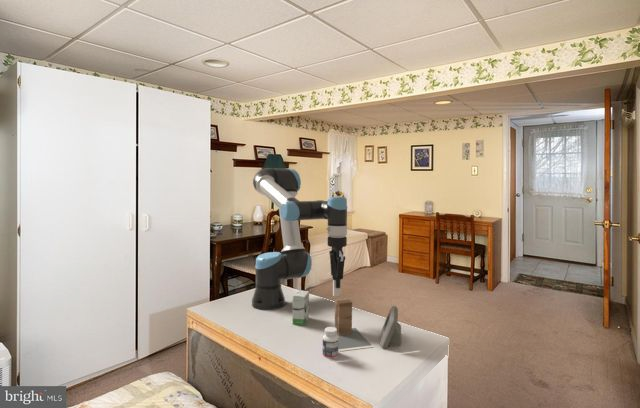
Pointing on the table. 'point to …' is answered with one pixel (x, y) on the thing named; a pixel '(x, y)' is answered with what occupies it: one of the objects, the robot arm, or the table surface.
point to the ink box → (300, 307)
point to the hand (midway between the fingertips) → (336, 295)
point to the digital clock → (391, 330)
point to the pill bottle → (330, 343)
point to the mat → (353, 341)
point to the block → (343, 316)
